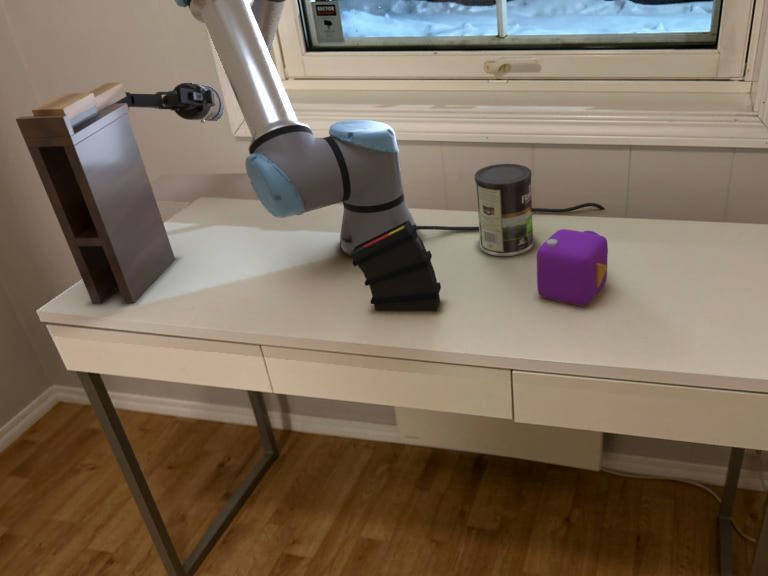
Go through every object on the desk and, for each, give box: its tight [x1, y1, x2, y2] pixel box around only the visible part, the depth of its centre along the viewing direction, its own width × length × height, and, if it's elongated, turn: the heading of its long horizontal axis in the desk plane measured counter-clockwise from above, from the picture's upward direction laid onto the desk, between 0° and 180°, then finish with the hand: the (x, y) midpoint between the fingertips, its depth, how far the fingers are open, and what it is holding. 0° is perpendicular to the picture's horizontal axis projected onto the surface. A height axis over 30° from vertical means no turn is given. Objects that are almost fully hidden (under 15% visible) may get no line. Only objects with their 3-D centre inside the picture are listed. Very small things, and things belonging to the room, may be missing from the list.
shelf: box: [15, 103, 176, 304], centre depth 132 cm, size 8×18×33 cm, turn 174°
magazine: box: [349, 220, 442, 312], centre depth 123 cm, size 4×13×15 cm, turn 83°
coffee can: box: [473, 163, 535, 257], centre depth 139 cm, size 10×10×14 cm
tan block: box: [31, 82, 126, 130], centre depth 127 cm, size 5×20×4 cm, turn 174°
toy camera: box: [536, 228, 609, 306], centre depth 124 cm, size 11×14×10 cm
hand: (144, 96), depth 144 cm, fingers open, 13 cm apart
